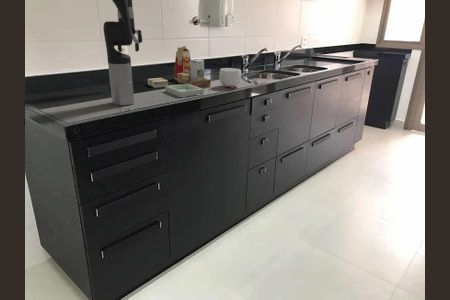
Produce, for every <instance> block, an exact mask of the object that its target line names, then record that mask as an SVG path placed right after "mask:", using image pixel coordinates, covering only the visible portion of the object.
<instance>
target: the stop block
mask: <svg viewBox="0 0 450 300" xmlns="http://www.w3.org/2000/svg"><path fill="white" fill-rule="evenodd" d="M183 78H190V75H189V74H186V73H177V79H178V80H177V83H179V84H183Z"/></svg>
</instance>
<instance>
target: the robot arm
mask: <svg viewBox="0 0 450 300" xmlns="http://www.w3.org/2000/svg"><path fill="white" fill-rule="evenodd" d="M111 1H112V2H113V3H114V5H115V7H116V9H117V10H116V11H117V21H113V20H112V21H110V20H109V21H108V20H107V21H105V22H104V23H103V27H102V29H103V37H104V41H105V47H106V57H107V65H108V67H107V68H108V75H109V85H110V94H111V101H112V105H115V106H121V105H123V106H129V105H134V104H135V95H134V94H135V93H134V84H133V71H132V60H131V56H130V55H128V54H126V53H123V49H122V48H123V47H125V46H126V47H128V46H131V45H133V42H134V50H135V52H136V53H137V52H139V51H140V43H143V35H142V30H141V29H136V27H135V16H134V14H135V13H134V8H133V0H111ZM135 35H137V37H136V36H135ZM115 46H117V49H116V48H115ZM122 46H123V47H122Z"/></svg>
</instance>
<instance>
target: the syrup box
mask: <svg viewBox="0 0 450 300" xmlns="http://www.w3.org/2000/svg"><path fill="white" fill-rule="evenodd" d="M204 78H205V60H204V59H202V58H201V59H200V58H193V59H191V60H190V79H191V80H194V81H197V80H204Z"/></svg>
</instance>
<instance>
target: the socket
mask: <svg viewBox="0 0 450 300" xmlns="http://www.w3.org/2000/svg"><path fill="white" fill-rule="evenodd" d="M183 84H190V85H193V86H196V87H199V88H202V89H204V88H205V89H206V88H211V79H209V78H207V77H204V80H197V81H194V80H191V79H190V78H183Z"/></svg>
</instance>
